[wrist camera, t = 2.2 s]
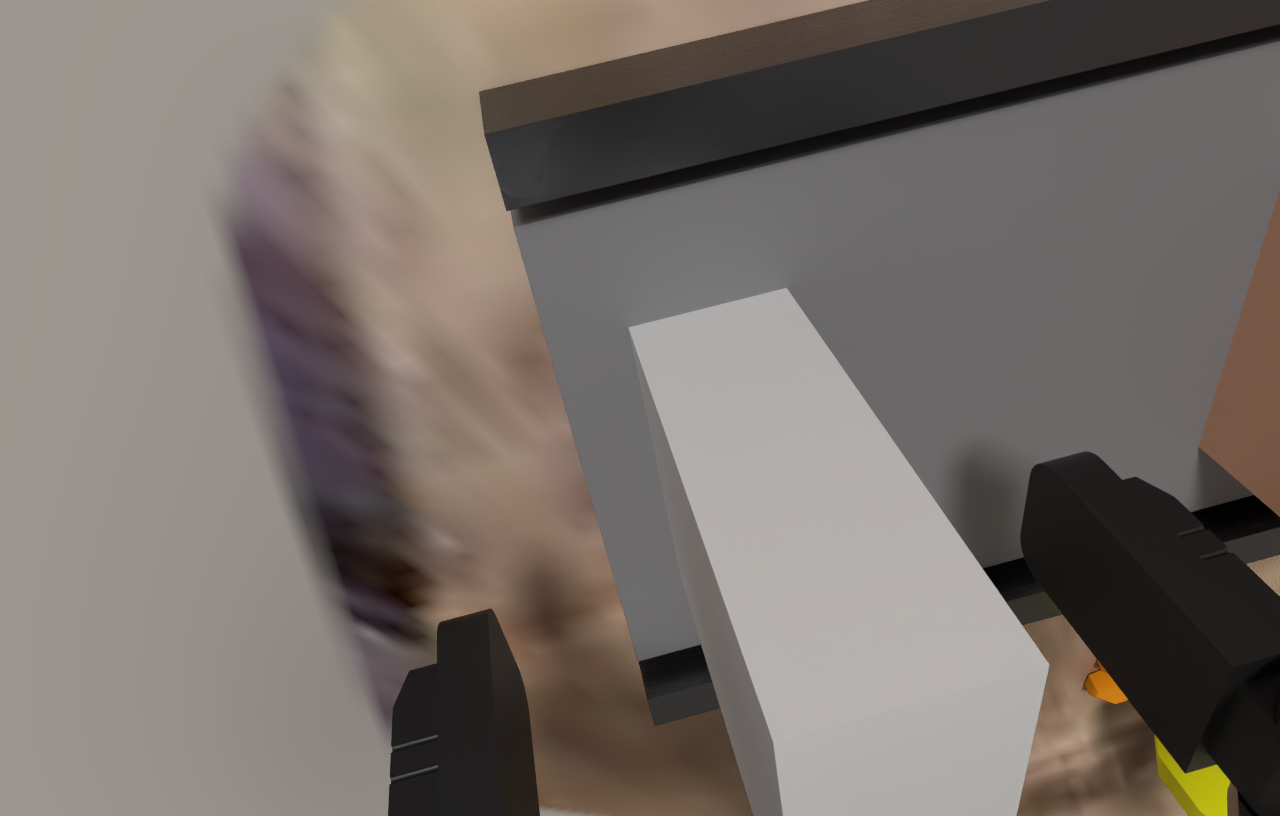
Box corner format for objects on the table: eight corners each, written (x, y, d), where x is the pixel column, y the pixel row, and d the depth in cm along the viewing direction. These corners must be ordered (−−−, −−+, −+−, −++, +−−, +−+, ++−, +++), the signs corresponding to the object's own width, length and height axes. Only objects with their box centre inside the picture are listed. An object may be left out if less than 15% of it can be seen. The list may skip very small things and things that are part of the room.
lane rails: (1919, -246, 13) (2109, -251, 11) (1513, 421, 20) (1593, 468, 19) (479, 91, 11) (484, 134, 10) (639, 657, 19) (654, 725, 18)
